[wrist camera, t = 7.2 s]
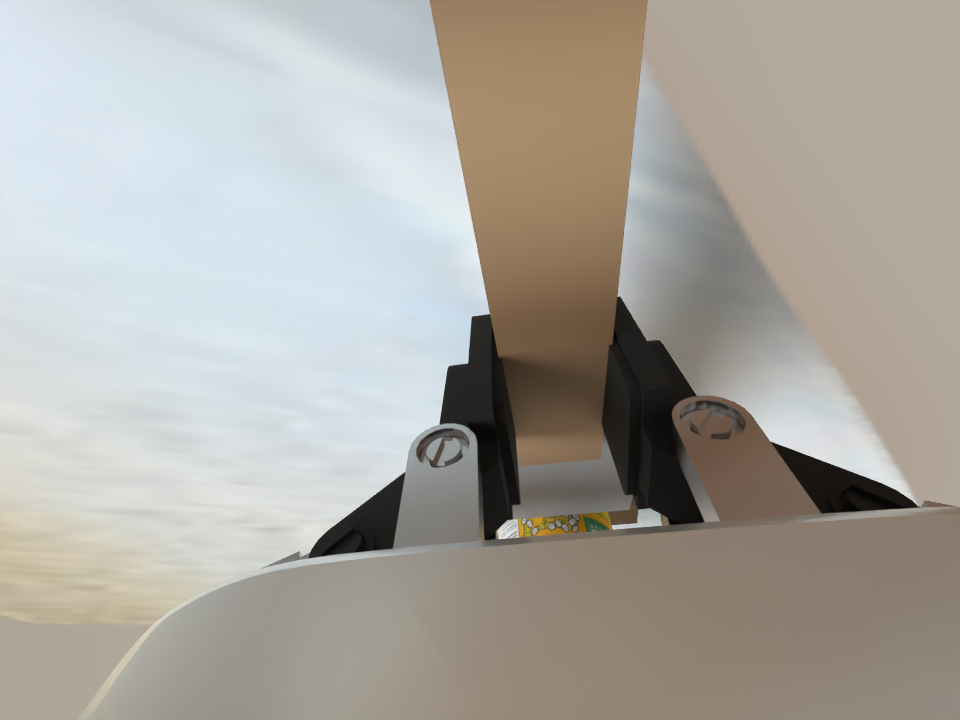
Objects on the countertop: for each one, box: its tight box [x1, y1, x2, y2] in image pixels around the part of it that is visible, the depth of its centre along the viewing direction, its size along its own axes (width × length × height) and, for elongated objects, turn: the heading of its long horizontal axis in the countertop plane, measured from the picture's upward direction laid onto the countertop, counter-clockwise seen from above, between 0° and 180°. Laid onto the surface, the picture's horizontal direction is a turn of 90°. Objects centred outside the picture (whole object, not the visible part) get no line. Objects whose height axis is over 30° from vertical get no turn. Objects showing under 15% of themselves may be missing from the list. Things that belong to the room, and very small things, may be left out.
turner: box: [430, 0, 648, 520], centre depth 12 cm, size 18×6×3 cm, turn 9°
